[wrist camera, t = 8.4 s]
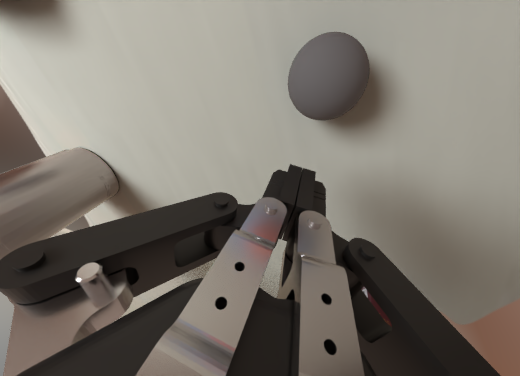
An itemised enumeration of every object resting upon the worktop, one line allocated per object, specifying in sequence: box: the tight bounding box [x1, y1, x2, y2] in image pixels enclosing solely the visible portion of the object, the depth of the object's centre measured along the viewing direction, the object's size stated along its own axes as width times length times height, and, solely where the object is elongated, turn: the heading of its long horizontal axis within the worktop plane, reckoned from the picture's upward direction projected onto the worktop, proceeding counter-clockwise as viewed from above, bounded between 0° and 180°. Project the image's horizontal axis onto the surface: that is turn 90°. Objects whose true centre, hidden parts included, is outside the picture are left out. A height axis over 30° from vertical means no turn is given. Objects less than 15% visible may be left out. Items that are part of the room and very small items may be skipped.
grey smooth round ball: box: [288, 32, 369, 120], centre depth 14 cm, size 6×6×6 cm
